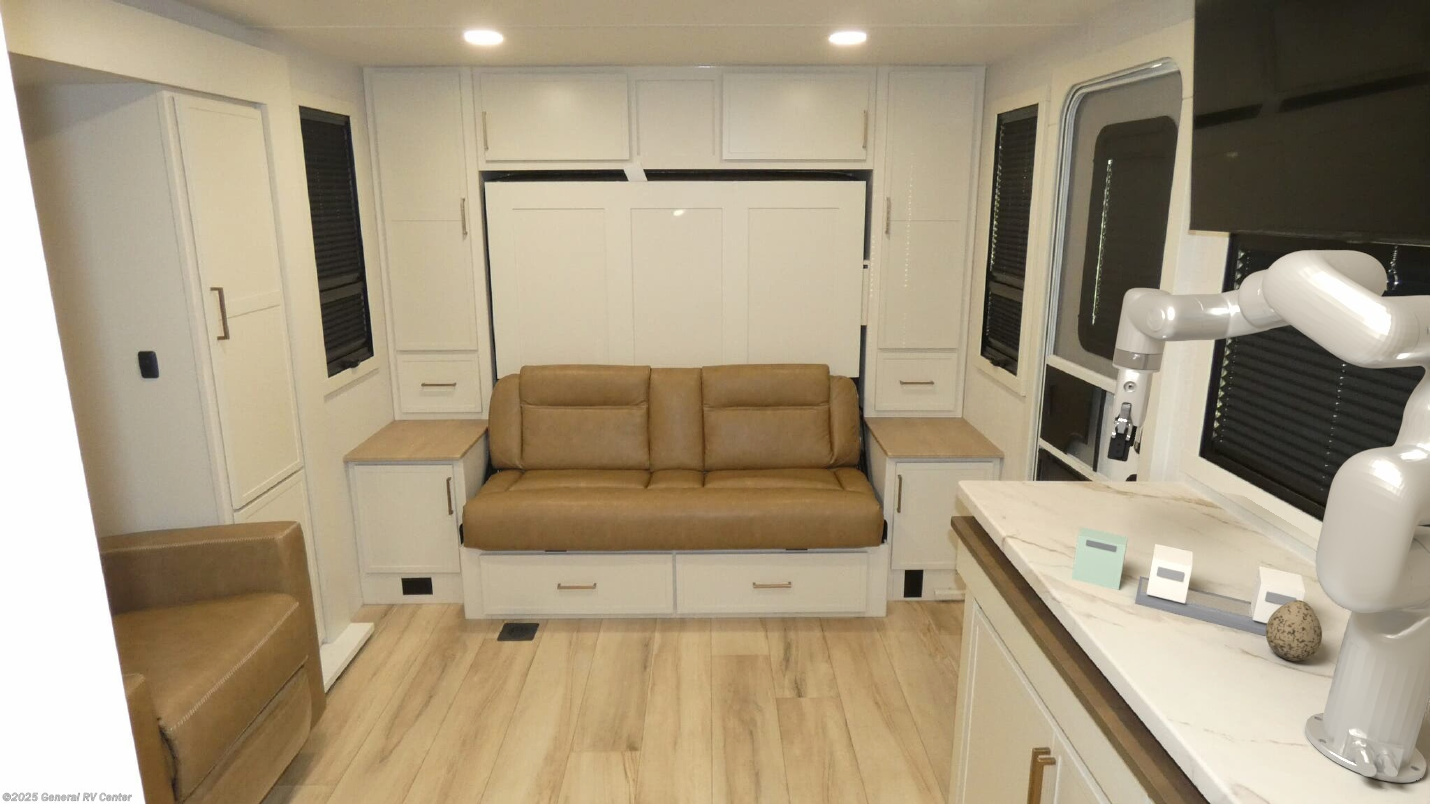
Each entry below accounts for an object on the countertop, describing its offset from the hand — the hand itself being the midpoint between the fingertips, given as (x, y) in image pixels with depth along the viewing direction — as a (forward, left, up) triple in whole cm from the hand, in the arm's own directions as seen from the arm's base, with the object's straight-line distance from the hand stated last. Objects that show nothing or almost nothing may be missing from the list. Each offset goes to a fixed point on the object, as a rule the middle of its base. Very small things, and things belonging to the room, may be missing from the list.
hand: (1120, 452), depth 145 cm
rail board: (-1, -19, -25) cm, 32 cm away
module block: (0, +1, -26) cm, 26 cm away
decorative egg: (-12, -29, -26) cm, 40 cm away
